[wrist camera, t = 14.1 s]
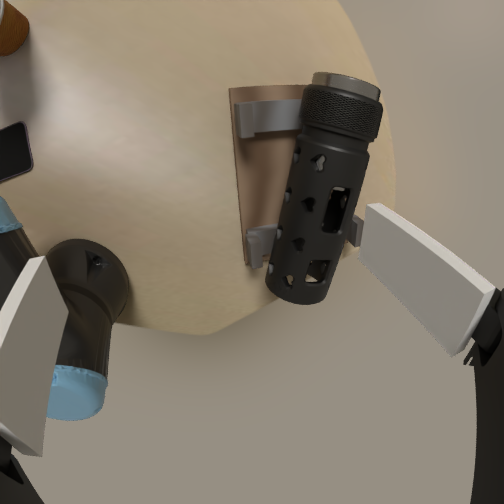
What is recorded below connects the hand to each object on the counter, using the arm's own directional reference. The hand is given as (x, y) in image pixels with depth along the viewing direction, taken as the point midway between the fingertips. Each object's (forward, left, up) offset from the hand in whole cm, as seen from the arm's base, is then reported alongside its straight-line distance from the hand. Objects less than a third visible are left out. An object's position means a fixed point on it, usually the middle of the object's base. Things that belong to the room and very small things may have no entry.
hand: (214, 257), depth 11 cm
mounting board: (+16, -7, -30) cm, 34 cm away
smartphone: (-29, +5, -30) cm, 42 cm away
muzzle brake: (+15, -7, -27) cm, 32 cm away
